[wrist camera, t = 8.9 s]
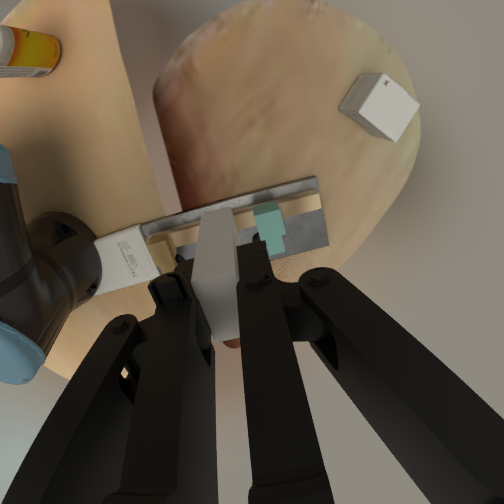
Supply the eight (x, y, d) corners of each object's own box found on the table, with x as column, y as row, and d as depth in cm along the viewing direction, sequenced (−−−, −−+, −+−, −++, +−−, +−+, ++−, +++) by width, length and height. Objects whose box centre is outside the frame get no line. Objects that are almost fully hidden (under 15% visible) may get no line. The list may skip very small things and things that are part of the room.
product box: (335, 108, 38) (356, 111, 31) (359, 73, 36) (384, 70, 29) (371, 135, 39) (396, 144, 33) (394, 101, 37) (422, 104, 31)
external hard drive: (72, 247, 44) (140, 222, 43) (95, 291, 47) (163, 272, 46) (67, 252, 42) (137, 227, 41) (92, 297, 46) (161, 278, 45)
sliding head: (262, 242, 44) (266, 261, 39) (251, 202, 41) (254, 216, 37) (284, 237, 44) (290, 254, 39) (274, 195, 41) (279, 209, 36)
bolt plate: (168, 283, 47) (166, 287, 46) (142, 223, 43) (140, 226, 42) (327, 242, 46) (329, 245, 45) (314, 175, 42) (316, 177, 41)
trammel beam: (162, 268, 45) (155, 287, 41) (146, 232, 42) (137, 248, 38) (322, 226, 44) (332, 241, 39) (314, 185, 41) (324, 197, 37)
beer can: (56, 27, 29) (-9, 11, 16) (68, 62, 32) (1, 55, 18) (24, 51, 30) (-45, 47, 16) (34, 85, 32) (-36, 91, 19)
